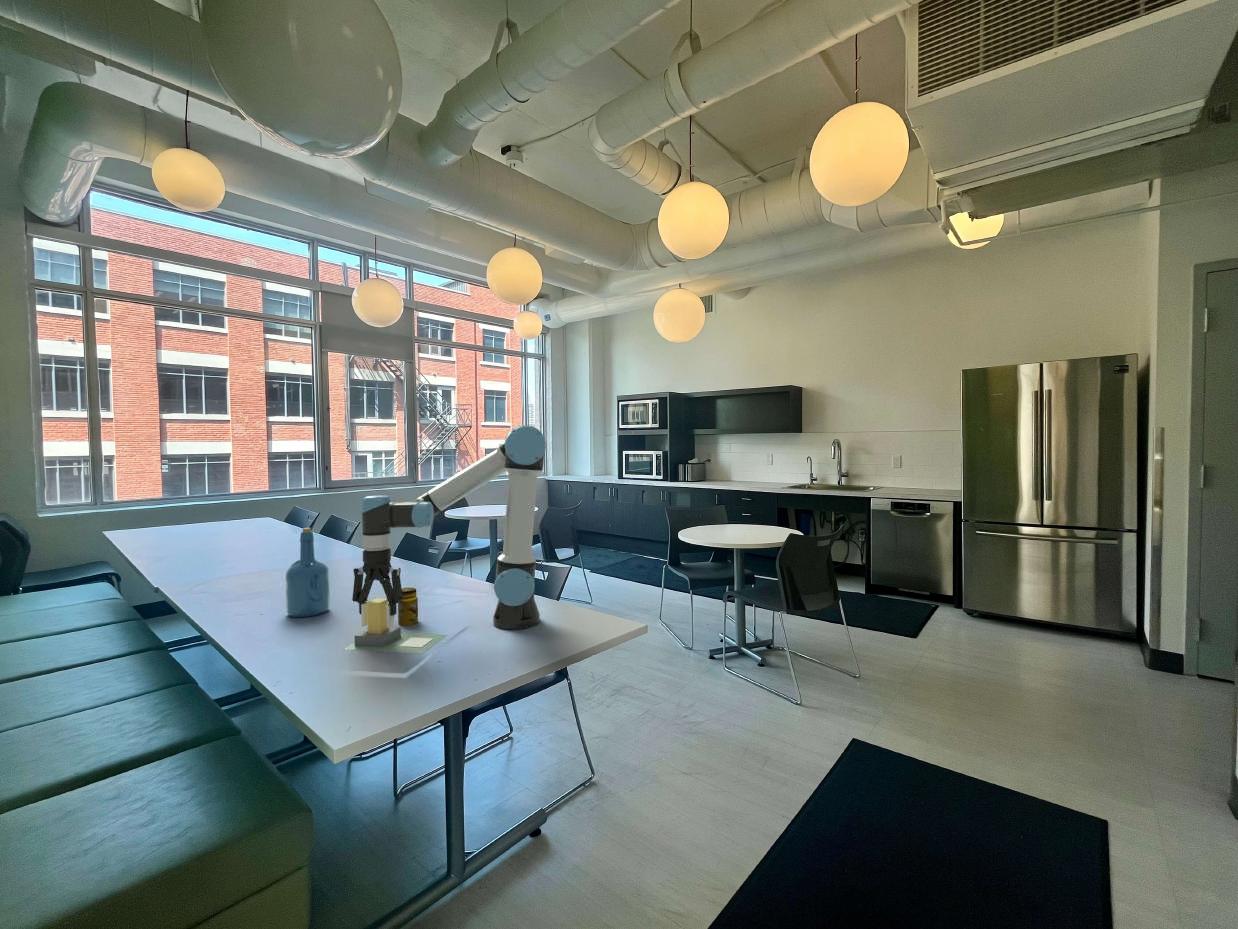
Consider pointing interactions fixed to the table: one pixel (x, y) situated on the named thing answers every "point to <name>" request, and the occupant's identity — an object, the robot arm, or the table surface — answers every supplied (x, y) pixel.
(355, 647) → the green board with socket
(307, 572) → the wine bottle
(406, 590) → the condiment
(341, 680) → the table surface
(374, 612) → the plug
